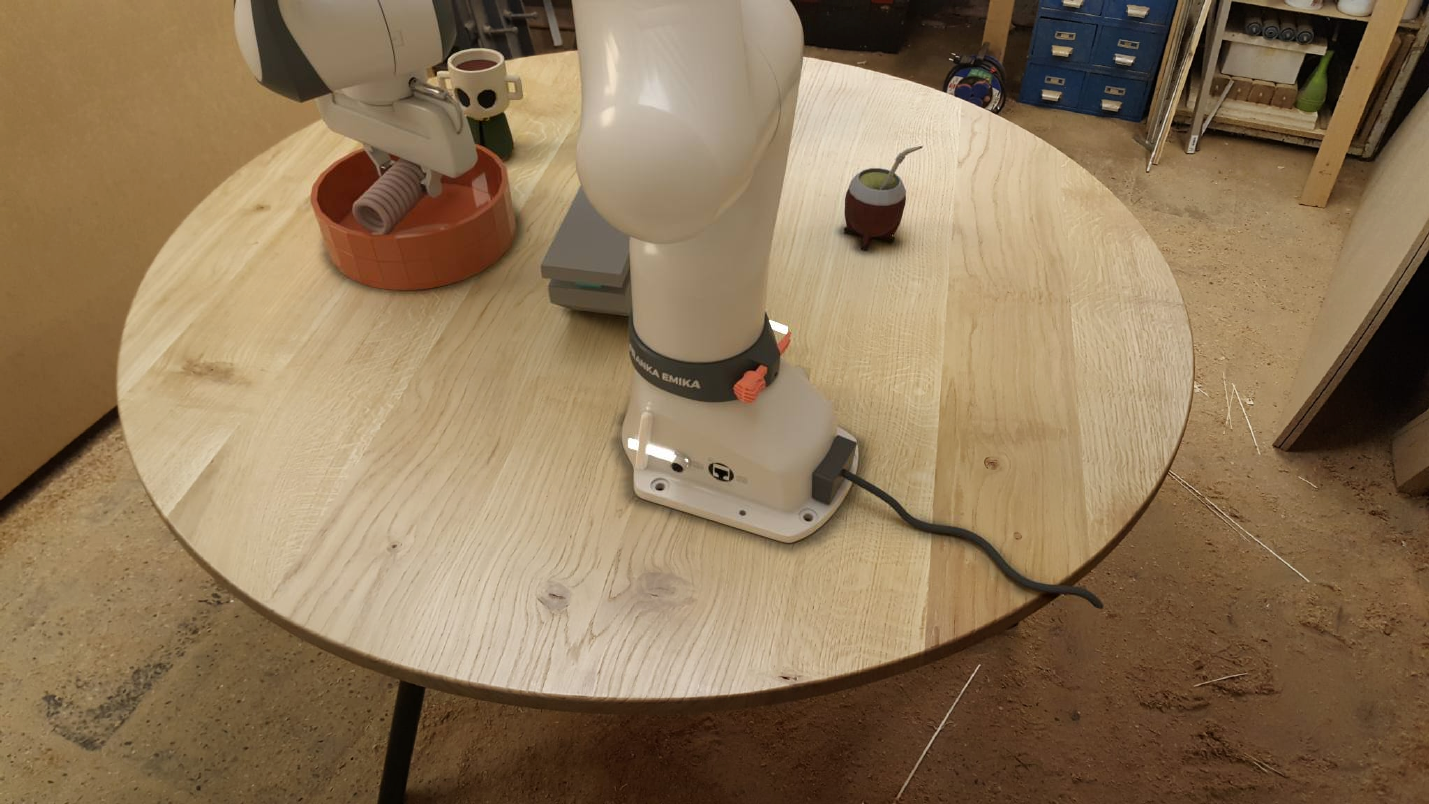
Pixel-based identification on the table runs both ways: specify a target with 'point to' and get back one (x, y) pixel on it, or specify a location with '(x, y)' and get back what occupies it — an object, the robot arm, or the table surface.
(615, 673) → the table surface
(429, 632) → the table surface
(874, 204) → the mate gourd
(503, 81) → the character mug
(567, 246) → the sharpening stone
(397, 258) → the pot
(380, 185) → the coil
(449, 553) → the table surface
